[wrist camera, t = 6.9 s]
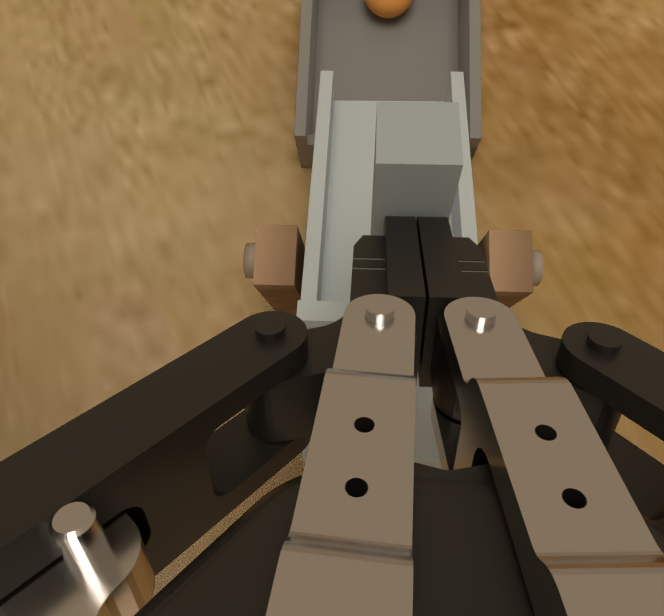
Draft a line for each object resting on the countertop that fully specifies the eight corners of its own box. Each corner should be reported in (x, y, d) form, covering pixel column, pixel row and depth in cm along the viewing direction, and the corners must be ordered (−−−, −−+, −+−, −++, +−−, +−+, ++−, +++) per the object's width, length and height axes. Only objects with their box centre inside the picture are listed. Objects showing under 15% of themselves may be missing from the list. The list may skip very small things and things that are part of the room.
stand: (278, 347, 32) (237, 317, 21) (283, 263, 33) (246, 192, 22) (481, 354, 31) (547, 326, 20) (481, 268, 32) (544, 198, 21)
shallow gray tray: (301, 167, 34) (294, 135, 30) (311, -20, 36) (305, -72, 32) (466, 170, 33) (481, 138, 29) (466, -20, 35) (479, -73, 31)
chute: (299, 477, 22) (231, 329, 10) (325, 142, 31) (306, -171, 18) (468, 485, 22) (624, 342, 9) (447, 144, 30) (515, -174, 18)
